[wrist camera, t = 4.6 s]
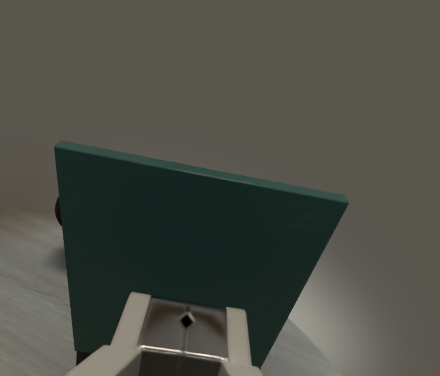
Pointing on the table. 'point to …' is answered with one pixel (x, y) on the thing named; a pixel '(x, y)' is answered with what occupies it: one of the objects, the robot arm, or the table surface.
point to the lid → (184, 240)
